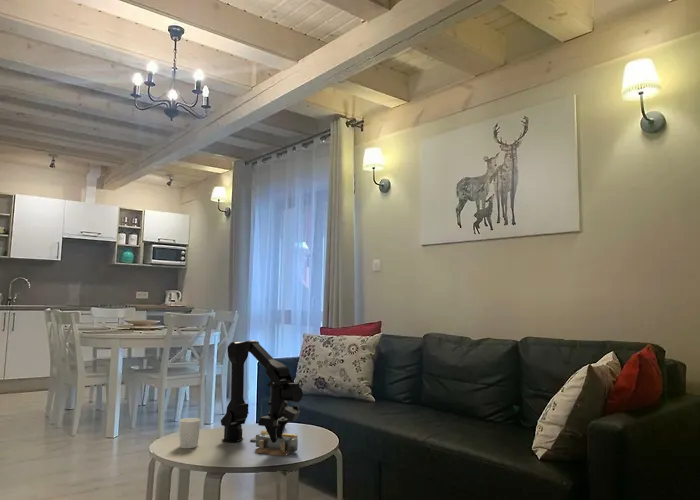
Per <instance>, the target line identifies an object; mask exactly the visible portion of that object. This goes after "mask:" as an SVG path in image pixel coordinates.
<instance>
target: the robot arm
mask: <svg viewBox="0 0 700 500" xmlns="http://www.w3.org/2000/svg"><path fill="white" fill-rule="evenodd" d="M249 353H250V354H251V355H252V356H253V357H254V358H255V359H256V360H257V362H259V364H260V365H261V366H262V367H264V370H265V374H266V376H267V377H268V379H269V380H270V381H269V382H268V383H267V384H266V387H270V398H269V399H270V400H269V401H267V405H268V406H269V412H268V413H267V415H268V416H267V415H264V416H261V417H260V418H259V419H258V421H257V424H258V426H261V427H264V428H265V430H267V432H268V434H269V436H270V438H271V441H272V442H273V443H275V440H276V435H277V436H282V434H283V433H284V430H285V428H286V425H287V424H289V423H290V422H294V421H297V420H298V418H299V416H300V415H301V410H300V406H298V404H296V405H294V406H289V402H293V403H298V402H300V401H301V400H302V398H303V395H304V392H303V390H302V388H301V387H300V383H298V382H296V383H295V382H294V379H293V377H292V375H291V374H290V369H289V368H288V366H287V365H286V364H284V363H283V362H280V361H278V360H276V359H275V358H273V356H272V355H271V354H270V353H269V352H268V351H267V350H266V349H265V348H264V347H263V346H262V345H261V344H260V342H259V341H257V339H253V340H252V339H251V340H246V341H231V342H230V343H229V344H228V345H227V358H228V360H229V361H230V363H231V384H230V386H231V387H230V392H231V393H230V401H229V402H228V405H227V406H226V412H225V414H224V415H223V417H222V418H221V419H220V424H221V426H222V427H223V428H224V430H223V432H224V433H223V434H224V435H223V438H222V439H221V442H227V443H237V442H239V441H242V440H244V437H243V428H242V427H243V425H245V423H246V420H247V418H248V414H250V413H249V403H248V402H247V403H246V401H245V399H244V387H245V385H244V383H245V381H244V380H245V363H246V360H247V359H248V358H249Z"/></svg>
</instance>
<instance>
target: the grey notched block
mask: <svg viewBox="0 0 700 500" xmlns="http://www.w3.org/2000/svg"><path fill="white" fill-rule="evenodd" d="M255 437H256V442H255V447H256V448H259V441H260V440H264V448H270V449H278V450H280V448H281V443H285V450H286V451H293V452H296V451H297V452H298V446H299V445H298V441H299V440H298V437H297V438H291V437H283V436H276V440H275V443H273V442H272V441H271V438H270V436H269V435H265V434H261V433H259V434H258V433H257V434H255Z"/></svg>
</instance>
